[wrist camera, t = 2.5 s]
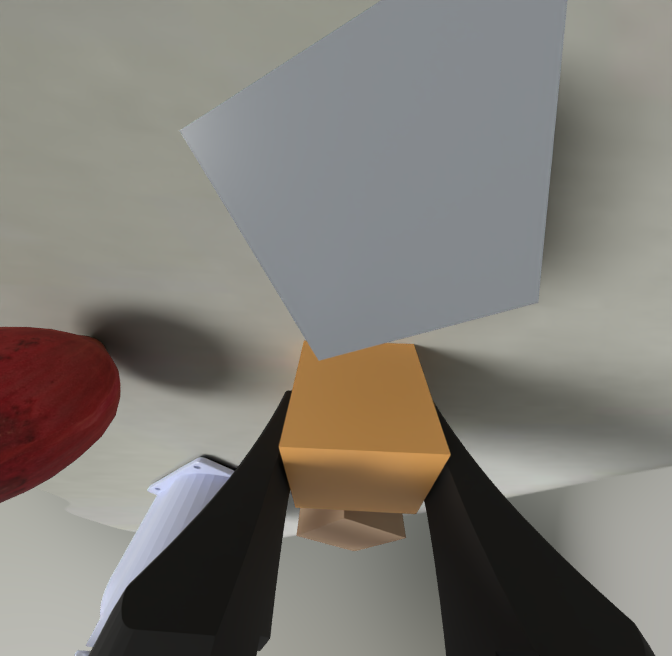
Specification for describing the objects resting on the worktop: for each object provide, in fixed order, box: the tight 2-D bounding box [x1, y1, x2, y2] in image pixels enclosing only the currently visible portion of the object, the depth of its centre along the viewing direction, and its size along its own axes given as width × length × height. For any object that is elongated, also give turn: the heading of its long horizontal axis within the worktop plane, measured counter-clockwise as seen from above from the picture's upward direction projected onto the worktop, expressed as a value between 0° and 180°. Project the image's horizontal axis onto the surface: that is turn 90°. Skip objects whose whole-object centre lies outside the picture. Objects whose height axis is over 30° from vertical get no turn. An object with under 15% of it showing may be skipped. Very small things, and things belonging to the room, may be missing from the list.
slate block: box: [179, 0, 567, 361], centre depth 6 cm, size 4×4×4 cm
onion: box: [0, 327, 120, 503], centre depth 8 cm, size 6×6×8 cm
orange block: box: [279, 341, 451, 514], centre depth 10 cm, size 5×5×5 cm
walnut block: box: [297, 508, 406, 551], centre depth 16 cm, size 4×4×4 cm
